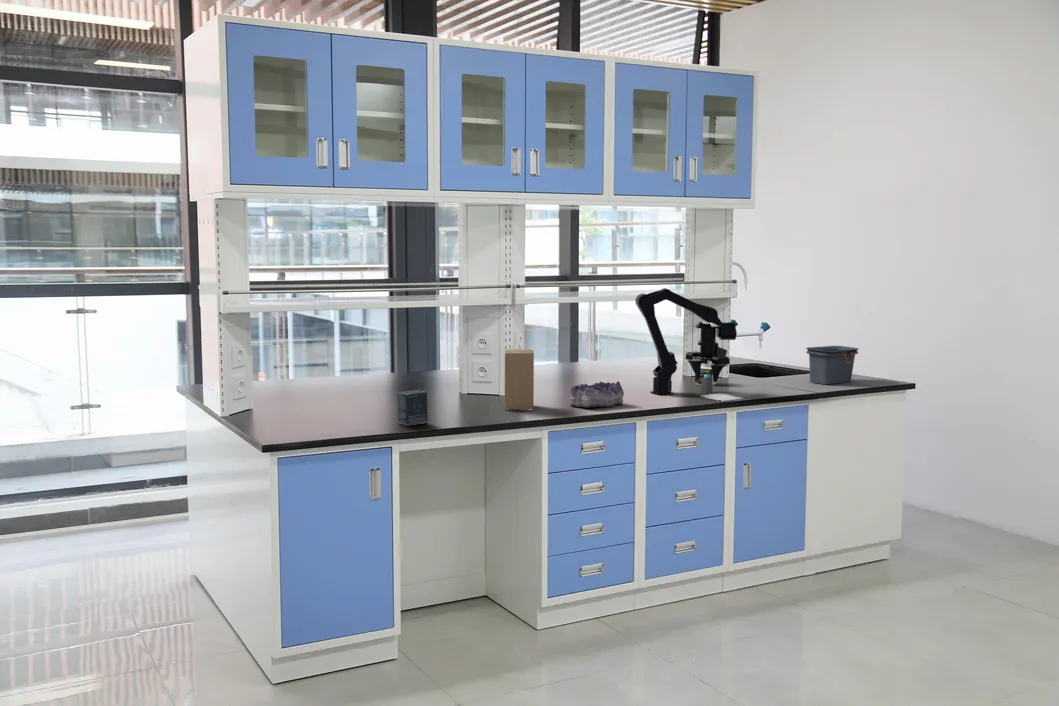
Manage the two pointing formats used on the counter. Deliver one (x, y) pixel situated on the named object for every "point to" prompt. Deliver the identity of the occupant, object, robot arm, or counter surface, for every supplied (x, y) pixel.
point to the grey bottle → (706, 384)
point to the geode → (597, 395)
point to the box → (412, 406)
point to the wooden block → (519, 379)
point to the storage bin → (831, 364)
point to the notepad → (723, 396)
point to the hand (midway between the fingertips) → (706, 380)
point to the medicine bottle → (705, 371)
